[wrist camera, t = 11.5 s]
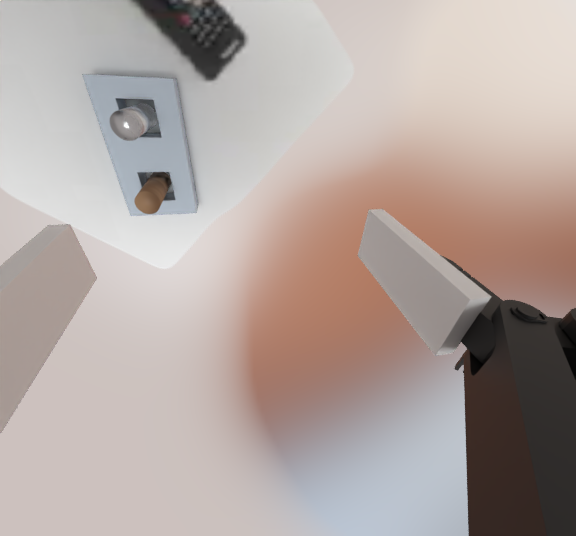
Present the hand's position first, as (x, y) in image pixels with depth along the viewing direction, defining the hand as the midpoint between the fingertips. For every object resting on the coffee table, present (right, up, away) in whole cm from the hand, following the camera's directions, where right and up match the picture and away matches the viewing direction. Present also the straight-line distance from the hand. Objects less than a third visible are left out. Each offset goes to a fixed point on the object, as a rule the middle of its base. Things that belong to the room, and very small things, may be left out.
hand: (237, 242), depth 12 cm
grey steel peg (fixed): (-18, +20, +24) cm, 36 cm away
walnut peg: (-18, +13, +30) cm, 37 cm away
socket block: (-18, +17, +27) cm, 37 cm away
